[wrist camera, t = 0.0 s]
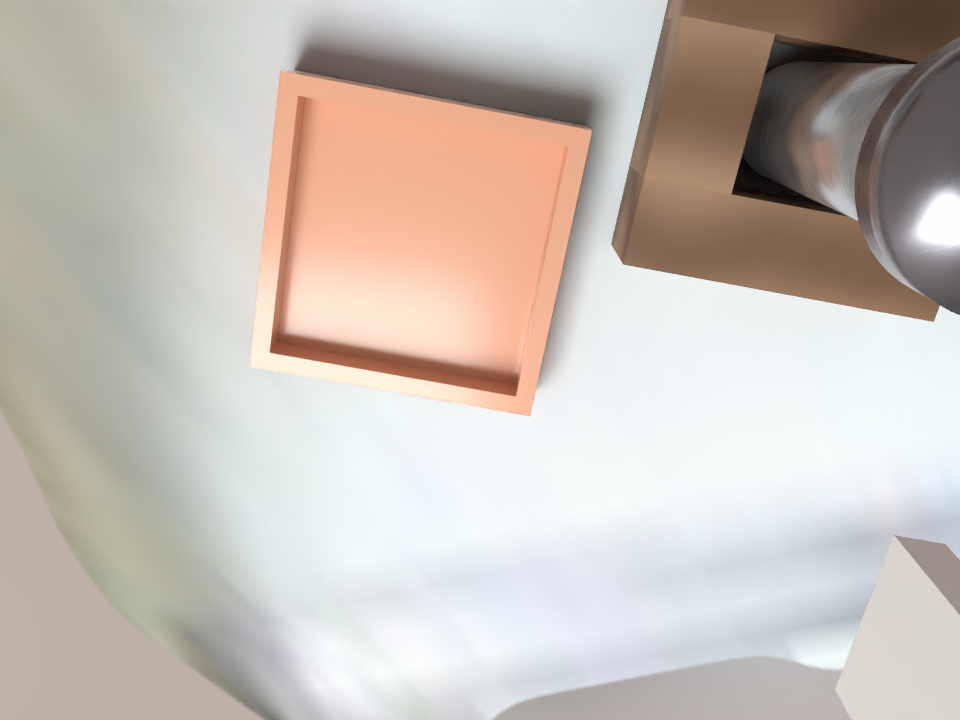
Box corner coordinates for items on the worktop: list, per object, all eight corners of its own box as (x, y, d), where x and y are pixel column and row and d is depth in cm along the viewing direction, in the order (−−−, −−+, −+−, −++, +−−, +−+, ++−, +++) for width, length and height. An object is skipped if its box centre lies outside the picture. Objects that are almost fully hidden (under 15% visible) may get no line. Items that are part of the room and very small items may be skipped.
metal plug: (738, 20, 36) (947, -8, 19) (902, 53, 37) (1250, 53, 20) (694, 189, 39) (846, 297, 22) (849, 219, 39) (1120, 347, 22)
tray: (293, 69, 37) (280, 70, 35) (586, 125, 38) (592, 130, 36) (263, 348, 42) (249, 366, 39) (528, 395, 42) (529, 416, 40)
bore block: (685, -73, 35) (708, -89, 32) (999, -11, 36) (1057, -18, 32) (611, 243, 40) (623, 264, 36) (892, 296, 40) (933, 321, 36)
